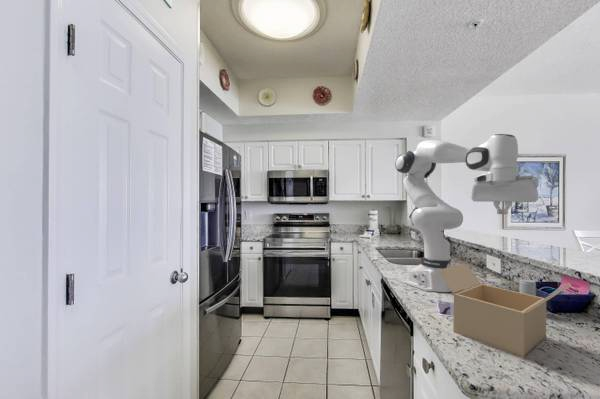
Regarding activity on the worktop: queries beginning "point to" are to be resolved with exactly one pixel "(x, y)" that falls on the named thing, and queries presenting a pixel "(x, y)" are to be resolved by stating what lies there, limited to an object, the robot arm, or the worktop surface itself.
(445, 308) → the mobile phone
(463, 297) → the carton
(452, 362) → the worktop surface
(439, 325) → the worktop surface
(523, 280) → the beverage can
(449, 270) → the flap
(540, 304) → the flap
